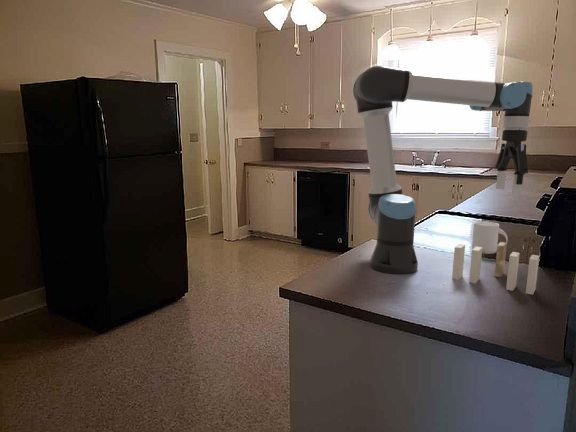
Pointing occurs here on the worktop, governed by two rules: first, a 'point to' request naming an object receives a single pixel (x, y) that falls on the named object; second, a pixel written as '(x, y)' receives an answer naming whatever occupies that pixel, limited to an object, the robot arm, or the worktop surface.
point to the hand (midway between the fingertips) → (507, 191)
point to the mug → (486, 236)
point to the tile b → (475, 264)
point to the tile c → (512, 271)
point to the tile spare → (500, 259)
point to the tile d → (532, 274)
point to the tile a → (458, 261)
